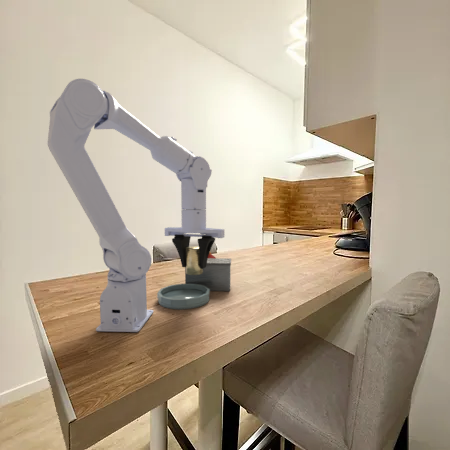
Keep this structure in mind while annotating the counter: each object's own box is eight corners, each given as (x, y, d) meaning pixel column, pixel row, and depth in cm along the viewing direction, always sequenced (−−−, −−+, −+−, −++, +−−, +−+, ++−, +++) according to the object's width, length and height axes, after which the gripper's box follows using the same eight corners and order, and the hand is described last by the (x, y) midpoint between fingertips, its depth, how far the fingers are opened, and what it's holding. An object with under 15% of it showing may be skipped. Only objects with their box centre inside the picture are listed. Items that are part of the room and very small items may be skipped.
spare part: (205, 271, 67) (205, 247, 66) (198, 275, 63) (197, 249, 62) (191, 270, 68) (191, 246, 68) (182, 273, 64) (182, 248, 64)
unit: (230, 291, 73) (230, 263, 73) (184, 290, 74) (184, 262, 73) (231, 284, 80) (231, 258, 79) (188, 283, 80) (188, 258, 80)
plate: (206, 309, 61) (206, 300, 60) (151, 309, 61) (151, 299, 61) (211, 292, 73) (211, 283, 73) (165, 291, 73) (165, 283, 73)
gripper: (228, 209, 66) (228, 265, 67) (174, 209, 70) (174, 261, 71) (218, 210, 59) (218, 272, 60) (159, 209, 64) (160, 267, 65)
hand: (194, 267), depth 65 cm, fingers closed on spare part, 4 cm apart
